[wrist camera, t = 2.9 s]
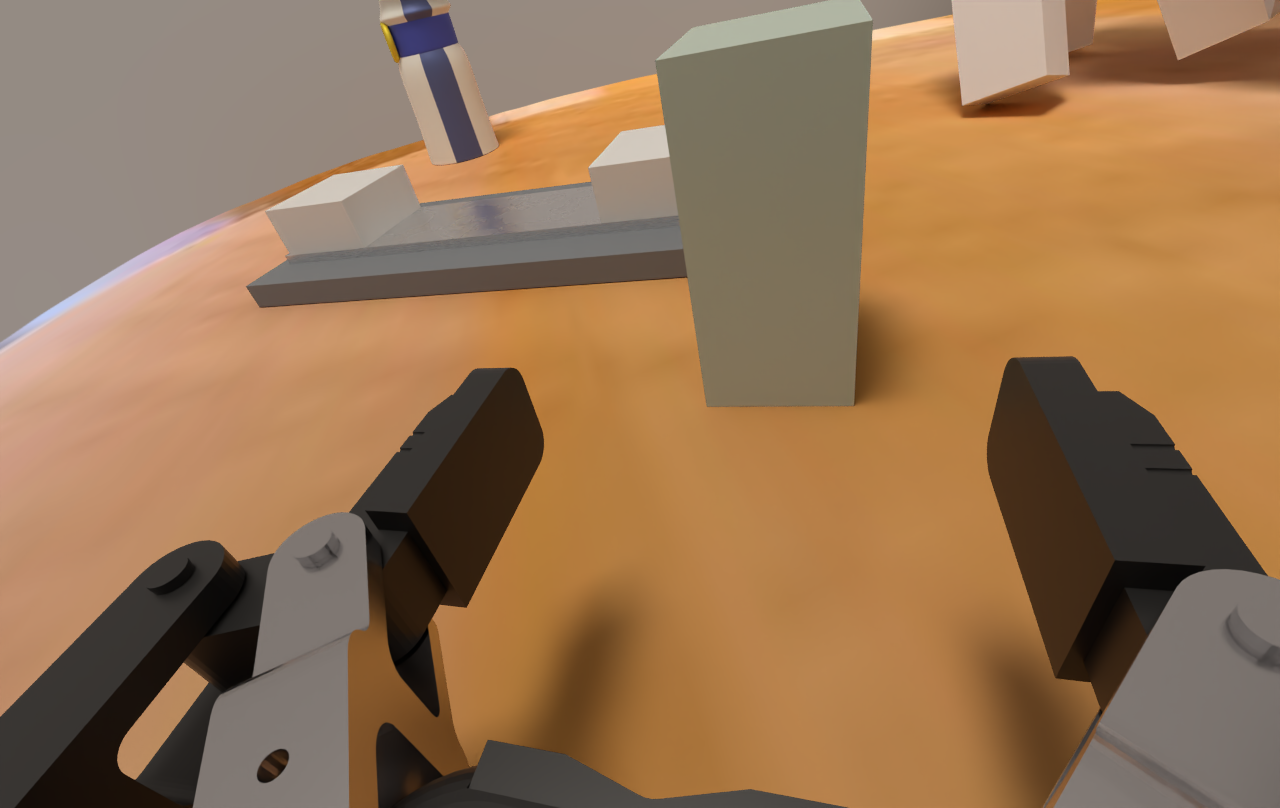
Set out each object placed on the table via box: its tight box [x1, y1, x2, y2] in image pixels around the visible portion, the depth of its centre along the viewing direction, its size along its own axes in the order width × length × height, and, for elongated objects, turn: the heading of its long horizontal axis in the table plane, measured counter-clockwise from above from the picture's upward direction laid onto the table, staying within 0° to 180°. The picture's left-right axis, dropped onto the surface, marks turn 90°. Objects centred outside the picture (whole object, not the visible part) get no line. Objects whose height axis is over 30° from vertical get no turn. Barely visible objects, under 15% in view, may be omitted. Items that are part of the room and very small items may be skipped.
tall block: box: [655, 0, 873, 407], centre depth 19 cm, size 5×6×11 cm
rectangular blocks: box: [265, 125, 678, 255], centre depth 36 cm, size 28×7×3 cm, turn 77°
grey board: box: [246, 182, 687, 307], centre depth 37 cm, size 31×13×2 cm, turn 77°
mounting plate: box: [285, 186, 680, 264], centre depth 37 cm, size 29×7×1 cm, turn 77°
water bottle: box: [379, 0, 499, 165], centre depth 57 cm, size 8×9×25 cm
